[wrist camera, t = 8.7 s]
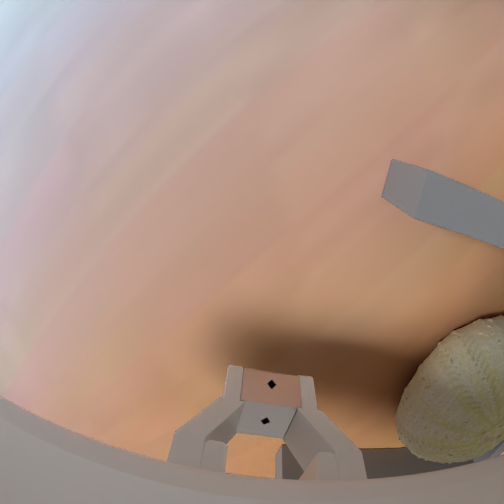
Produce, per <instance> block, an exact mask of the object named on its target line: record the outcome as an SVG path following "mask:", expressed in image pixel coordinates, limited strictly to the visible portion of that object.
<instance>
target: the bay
mask: <svg viewBox="0 0 504 504" xmlns="http://www.w3.org/2000/svg"><path fill="white" fill-rule="evenodd" d="M382 198H384V199H385V200H387V201H388V202H390V203H392V204H393V205H395V206H396V207H398V208H399V209H401V210H402V211H403V212H405V213H406V214H408V215H409V216H411V217H412V218H414V219H416V220H420V221H423V222H426V223H429V224H432V225H436V226H439V227H442V228H445V229H448V230H451V231H454V232H457V233H460V234H463V235H466V236H469V237H472V238H474V239H477V240H480V241H483V242H486V243H488V244H491V245H494V246H497V247H499V248H502V249H504V202H502V201H499V200H497V199H495V198H493V197H491V196H489V195H487V194H485V193H482V192H480V191H478V190H476V189H474V188H471V187H469V186H467V185H464V184H462V183H460V182H457V181H455V180H453V179H450V178H448V177H445V176H443V175H440V174H438V173H435V172H433V171H430V170H427V169H424V168H421V167H417V166H414V165H411V164H407V163H404V162H401V161H397V160H394V159H392V160H391V164H390V168H389V172H388V176H387V179H386V183H385V187H384V190H383V194H382ZM360 450H361V451H362V455H363V460H364V465H365V470H366V475H367V479H375V478H386V477H396V476H405V475H412V474H419V473H426V472H432V471H438V470H443V469H448V468H453V467H458V466H462V465H467V464H471V463H475V462H479V461H483V460H486V459H490V458H493V457H497V456H500V455H501V454H502V453H503V452H504V440H503V441H501V442H500V443H499V444H498V445H496V446H495V447H494V448H493V449H492V450H490V451H487V452H485V453H484V454H482V455H481V456H479V457H476V458H474V459H472V460H468V461H464V462H458V463H457V462H452V463H451V464H449V463H439V462H433V461H429V460H427V461H425V460H424V459H423V458H418V457H417V456H416V455H414V454H412V453H411V451H410V450H409V449H408V448H389V449H360ZM303 473H304V470H303V469H302V467H301V466H300V465H299V463H298V462H297V460H296V459H295V457H294V456H293V454H292V452H291V451H290V449H289V448H288V446H287V445H281V447H280V449H279V451H278V453H277V455H276V474H275V478H277V479H293V480H299V478H300V477H301V476H302V474H303Z"/></svg>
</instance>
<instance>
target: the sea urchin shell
mask: <svg viewBox="0 0 504 504" xmlns="http://www.w3.org/2000/svg"><path fill="white" fill-rule="evenodd" d="M395 417H396V420H395V423H396V424H395V425H396V431H397V434H398V436H399V440H401V441H402V443H403V444H404V445H405V446H406V447H407V448H408V449H409V450H410V451H411V453H412V454H414V455H416V456H417V457H418V458H423V459H424V460H425V461H427V460H429V461H433V462H439V463H449V464H451V463H452V462H457V463H458V462H464V461H468V460H472V459H474V458H476V457H479V456H481V455H482V454H484V453H485V452H487V451H490V450H492V449H493V448H494V447H495V446H496V445H498V444H499V443H500V442H501V441H503V440H504V316H502V315H500V316H497V317H492V318H488V319H478V320H475V321H474V322H472V323H470V324H469V325H467V326H465V327H462V328H460V329H457V330H454V331H452V332H451V333H450V334H449V335H448V336H447V337H445V338H444V339H443V340H442V341H440V342H438V345H437V346H436V348H435V349H434V350H433V351H432V352H431V354H430V355H429V356H428V357H427V358H426V359H425V360H424V361H423V363H421V364H420V366H419V367H418V370H417V372H416V373H415V374H414V377H413V378H412V380H411V381H410V382H409V383H408V386H407V387H405V388H404V393H403V394H402V397H401V401H400V403H399V405H398V407H397V411H396V413H395Z"/></svg>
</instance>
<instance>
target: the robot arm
mask: <svg viewBox="0 0 504 504" xmlns="http://www.w3.org/2000/svg"><path fill="white" fill-rule="evenodd" d="M236 433H242V434H250V435H260V436H267V437H274V438H282V439H283V440H284V442H285V443H286V445H287V446H288V448H289V449H290V451H291V452H292V454H293V456H294V457H295V459H296V460H297V462H298V463H299V465H300V466H301V467H302V469H303V470H304V473H303V474H302V476H301V477H300V478H299V480H293V479H277V478H265V477H255V476H246V475H238V474H231V473H225V466H226V457H227V448H228V446H227V445H226V444H227V443H228V442H229V441H230V440H231V439H232V438H233V436H234V435H235V434H236ZM0 504H504V454H503V455H500V456H497V457H493V458H490V459H486V460H483V461H479V462H475V463H471V464H467V465H462V466H458V467H453V468H448V469H443V470H438V471H432V472H426V473H419V474H412V475H405V476H396V477H386V478H375V479H367V475H366V470H365V465H364V460H363V455H362V451H361V450H360V449H359V448H358V447H357V446H356V445H355V444H354V443H353V442H352V441H351V440H350V439H349V438H348V437H347V436H346V435H345V434H344V433H343V432H342V431H341V430H340V429H339V428H338V427H337V426H336V425H335V424H334V423H333V422H332V421H331V419H330V418H329V417H328V416H327V415H326V414H325V413H324V412H323V411H322V410H318V407H317V400H316V393H315V387H314V380H313V377H312V376H303V375H293V374H285V373H277V372H269V371H264V370H258V369H253V368H247V367H241V366H236V365H231V364H229V366H228V370H227V375H226V380H225V385H224V390H223V395H222V397H219V398H217V399H216V400H215V401H214V402H212V403H211V404H210V405H209V406H207V407H206V408H205V409H204V410H202V411H201V412H200V413H199V414H197V415H196V416H195V417H193V418H192V419H191V420H190V421H188V422H187V423H186V424H184V425H183V426H182V427H180V428H179V429H178V430H176V431H175V434H174V438H173V441H172V445H171V449H170V452H169V456H168V460H167V461H164V460H160V459H156V458H152V457H149V456H145V455H142V454H138V453H135V452H131V451H128V450H125V449H122V448H118V447H115V446H112V445H109V444H106V443H104V442H101V441H98V440H95V439H93V438H90V437H87V436H85V435H82V434H79V433H77V432H74V431H72V430H70V429H67V428H65V427H62V426H60V425H58V424H56V423H53V422H51V421H49V420H47V419H45V418H42V417H40V416H38V415H36V414H34V413H32V412H30V411H28V410H26V409H24V408H22V407H20V406H18V405H16V404H15V403H13V402H11V401H9V400H7V399H5V398H4V397H2V396H0Z"/></svg>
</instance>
